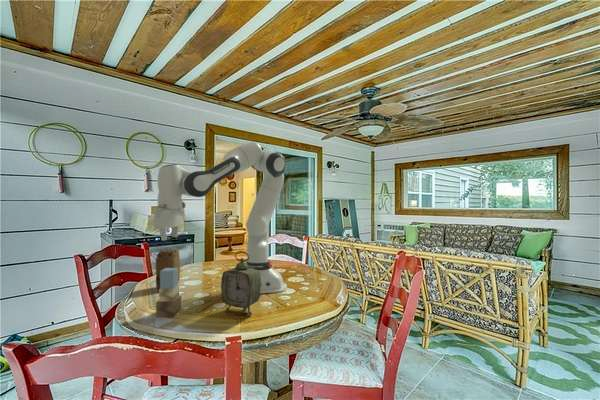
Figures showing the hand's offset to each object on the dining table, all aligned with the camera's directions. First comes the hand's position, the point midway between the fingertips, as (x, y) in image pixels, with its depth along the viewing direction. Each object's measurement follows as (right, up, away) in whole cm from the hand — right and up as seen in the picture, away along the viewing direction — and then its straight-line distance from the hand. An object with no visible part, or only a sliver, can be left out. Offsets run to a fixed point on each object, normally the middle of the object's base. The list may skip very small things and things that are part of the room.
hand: (169, 238), depth 114 cm
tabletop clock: (+29, -31, +2) cm, 42 cm away
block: (-17, -30, +33) cm, 48 cm away
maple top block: (0, -25, 0) cm, 25 cm away
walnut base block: (0, -31, 0) cm, 31 cm away
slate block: (0, -20, 0) cm, 20 cm away
